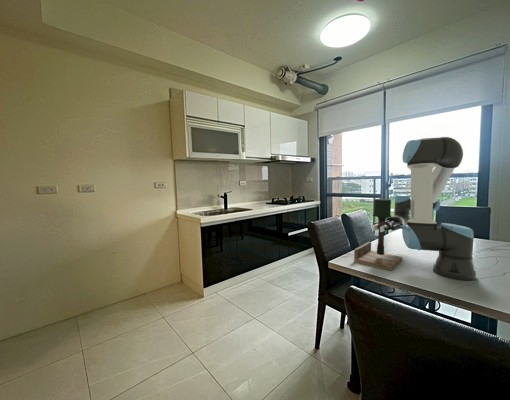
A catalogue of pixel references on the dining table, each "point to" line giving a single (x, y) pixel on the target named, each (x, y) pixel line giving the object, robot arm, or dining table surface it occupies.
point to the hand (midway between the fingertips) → (376, 228)
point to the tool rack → (375, 258)
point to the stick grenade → (381, 219)
